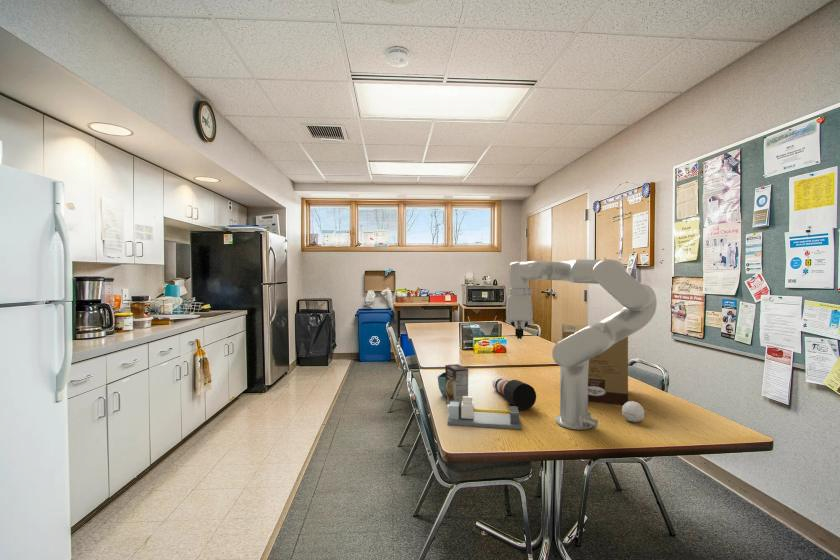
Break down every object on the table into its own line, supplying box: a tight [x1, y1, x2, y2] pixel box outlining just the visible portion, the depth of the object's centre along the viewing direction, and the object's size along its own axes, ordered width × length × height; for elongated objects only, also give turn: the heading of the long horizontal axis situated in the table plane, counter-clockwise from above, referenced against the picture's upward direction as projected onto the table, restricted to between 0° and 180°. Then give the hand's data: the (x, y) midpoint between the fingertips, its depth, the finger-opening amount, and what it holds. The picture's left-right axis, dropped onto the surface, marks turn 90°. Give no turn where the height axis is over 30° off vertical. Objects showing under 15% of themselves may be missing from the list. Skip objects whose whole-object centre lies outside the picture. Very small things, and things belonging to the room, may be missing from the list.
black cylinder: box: [492, 377, 537, 410], centre depth 164 cm, size 10×34×10 cm, turn 6°
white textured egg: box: [621, 400, 650, 423], centre depth 135 cm, size 10×7×7 cm
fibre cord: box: [473, 407, 510, 415], centre depth 137 cm, size 22×1×1 cm, turn 80°
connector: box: [446, 401, 461, 419], centre depth 139 cm, size 5×5×5 cm
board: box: [447, 406, 522, 430], centre depth 137 cm, size 26×10×5 cm, turn 80°
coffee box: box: [444, 363, 469, 405], centre depth 155 cm, size 9×6×16 cm
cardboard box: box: [561, 323, 629, 406], centre depth 169 cm, size 26×26×30 cm
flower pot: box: [437, 371, 446, 397], centre depth 168 cm, size 9×9×9 cm
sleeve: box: [461, 395, 475, 419], centre depth 138 cm, size 4×5×7 cm
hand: (519, 338), depth 148 cm, fingers closed
